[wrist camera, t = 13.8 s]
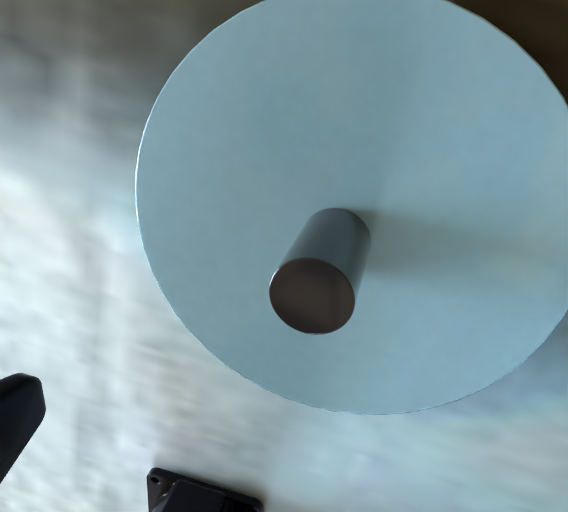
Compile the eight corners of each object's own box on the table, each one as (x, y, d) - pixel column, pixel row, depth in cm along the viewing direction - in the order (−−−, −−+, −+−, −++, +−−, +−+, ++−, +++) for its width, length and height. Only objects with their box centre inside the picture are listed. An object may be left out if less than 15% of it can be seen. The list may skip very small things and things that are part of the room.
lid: (501, 437, 19) (522, 560, 15) (156, 347, 22) (88, 427, 18) (679, 11, 12) (819, 3, 8) (139, -35, 15) (22, -59, 11)
